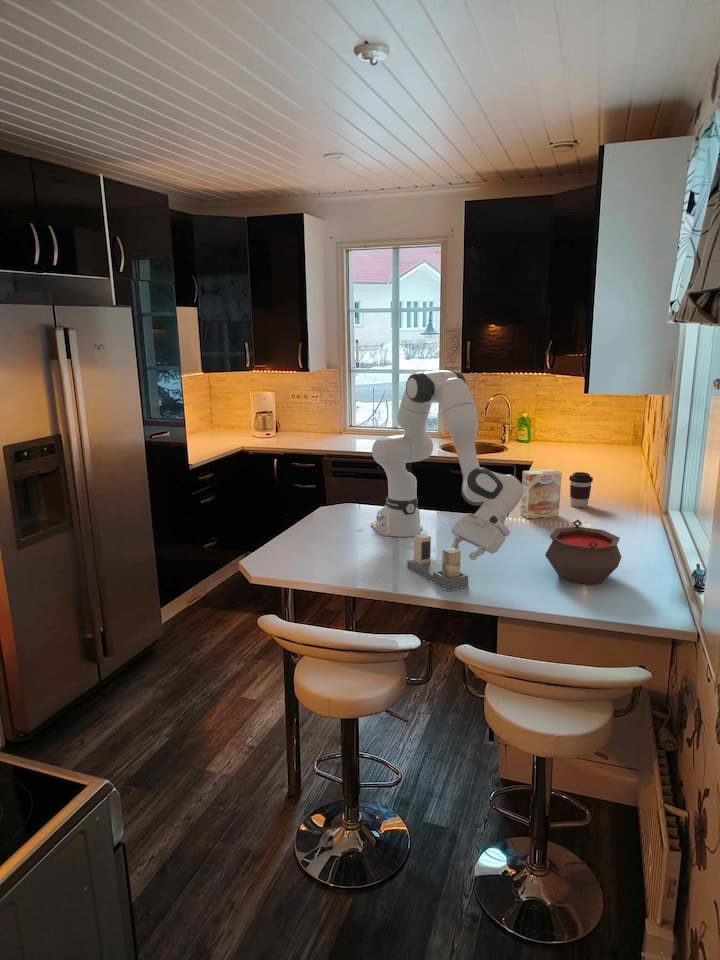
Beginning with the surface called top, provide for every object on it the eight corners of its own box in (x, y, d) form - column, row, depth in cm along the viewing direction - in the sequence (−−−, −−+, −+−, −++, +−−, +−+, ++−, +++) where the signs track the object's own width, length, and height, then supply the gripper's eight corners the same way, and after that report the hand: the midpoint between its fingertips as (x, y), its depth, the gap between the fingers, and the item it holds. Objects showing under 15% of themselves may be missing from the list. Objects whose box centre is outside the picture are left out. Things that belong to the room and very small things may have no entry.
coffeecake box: (527, 519, 268) (530, 474, 264) (519, 514, 275) (521, 470, 270) (559, 516, 272) (562, 472, 267) (550, 512, 278) (553, 468, 274)
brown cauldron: (537, 562, 220) (540, 516, 216) (609, 564, 217) (613, 518, 213) (550, 590, 197) (553, 539, 193) (631, 593, 194) (636, 542, 190)
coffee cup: (564, 506, 286) (566, 474, 283) (571, 501, 294) (573, 470, 290) (587, 510, 281) (589, 477, 277) (593, 505, 288) (595, 472, 285)
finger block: (441, 576, 202) (442, 549, 199) (451, 573, 203) (452, 547, 201) (449, 580, 198) (450, 553, 196) (459, 578, 200) (460, 551, 198)
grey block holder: (407, 567, 216) (407, 535, 213) (426, 563, 219) (427, 531, 217) (447, 591, 196) (448, 556, 193) (468, 586, 200) (469, 551, 197)
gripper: (462, 506, 211) (437, 538, 209) (503, 522, 193) (476, 558, 191) (473, 517, 214) (448, 549, 212) (514, 534, 196) (487, 569, 194)
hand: (462, 553), depth 201 cm, fingers open, 8 cm apart
